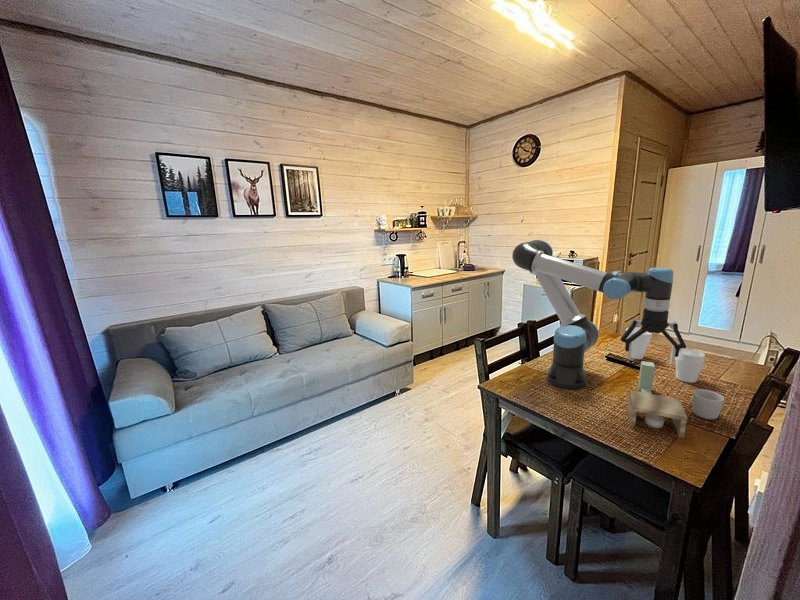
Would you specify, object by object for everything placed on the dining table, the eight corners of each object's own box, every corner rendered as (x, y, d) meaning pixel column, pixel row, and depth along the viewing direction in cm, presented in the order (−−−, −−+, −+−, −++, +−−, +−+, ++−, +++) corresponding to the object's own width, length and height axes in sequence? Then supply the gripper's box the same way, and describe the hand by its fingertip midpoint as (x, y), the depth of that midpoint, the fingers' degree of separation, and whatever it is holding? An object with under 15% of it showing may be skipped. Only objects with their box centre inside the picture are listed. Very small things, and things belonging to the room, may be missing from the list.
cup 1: (617, 354, 167) (620, 328, 164) (633, 351, 170) (636, 326, 167) (637, 362, 158) (641, 335, 154) (654, 359, 161) (658, 332, 157)
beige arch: (630, 426, 113) (632, 406, 111) (627, 408, 123) (629, 390, 121) (683, 437, 106) (687, 417, 104) (675, 417, 116) (679, 398, 114)
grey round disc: (645, 426, 113) (646, 419, 112) (643, 418, 117) (644, 412, 116) (664, 430, 110) (665, 423, 110) (661, 421, 115) (662, 415, 114)
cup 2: (705, 384, 136) (710, 357, 133) (680, 383, 138) (684, 356, 135) (691, 374, 145) (696, 348, 142) (667, 373, 146) (671, 347, 143)
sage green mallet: (644, 412, 120) (648, 384, 117) (637, 385, 138) (641, 361, 135) (658, 414, 118) (662, 386, 115) (649, 387, 136) (653, 362, 133)
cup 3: (689, 403, 124) (692, 383, 122) (718, 410, 119) (722, 389, 117) (689, 417, 116) (693, 396, 114) (721, 425, 111) (725, 403, 109)
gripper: (617, 308, 130) (612, 359, 135) (702, 314, 118) (693, 370, 123) (616, 304, 136) (611, 353, 141) (696, 309, 124) (688, 362, 129)
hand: (649, 361), depth 132 cm, fingers open, 13 cm apart
